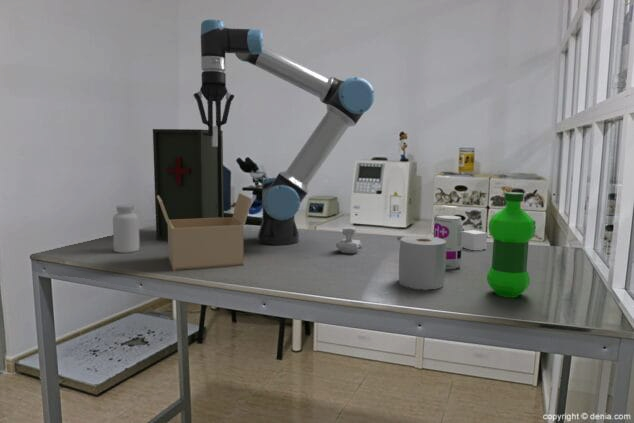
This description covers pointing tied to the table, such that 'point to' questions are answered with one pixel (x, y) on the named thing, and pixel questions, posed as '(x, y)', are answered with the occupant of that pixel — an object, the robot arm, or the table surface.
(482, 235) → the white cube
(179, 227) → the carton
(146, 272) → the table surface
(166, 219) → the flap
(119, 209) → the pill bottle
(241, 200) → the flap
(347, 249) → the stamp
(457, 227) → the supplement can
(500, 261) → the plastic bottle
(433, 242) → the toilet paper roll
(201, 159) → the first aid box
